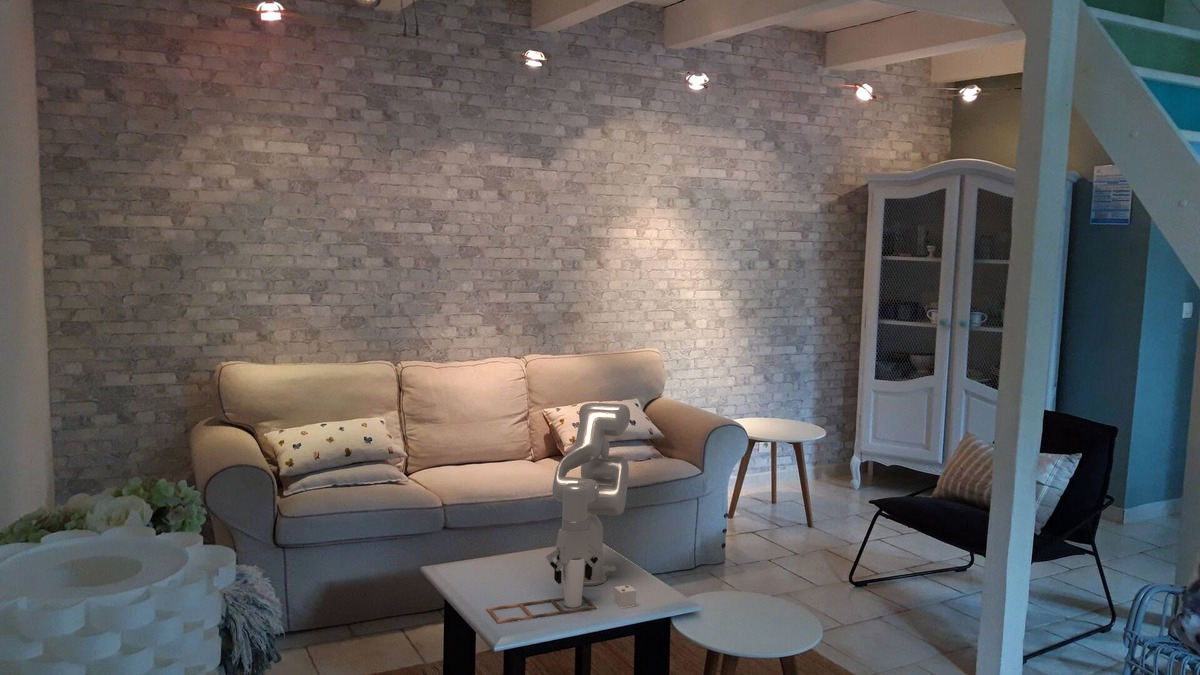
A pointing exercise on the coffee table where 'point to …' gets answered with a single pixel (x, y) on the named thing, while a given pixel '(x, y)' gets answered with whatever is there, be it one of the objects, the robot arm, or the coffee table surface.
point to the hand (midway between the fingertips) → (573, 580)
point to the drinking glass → (573, 582)
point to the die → (624, 596)
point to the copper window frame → (530, 616)
